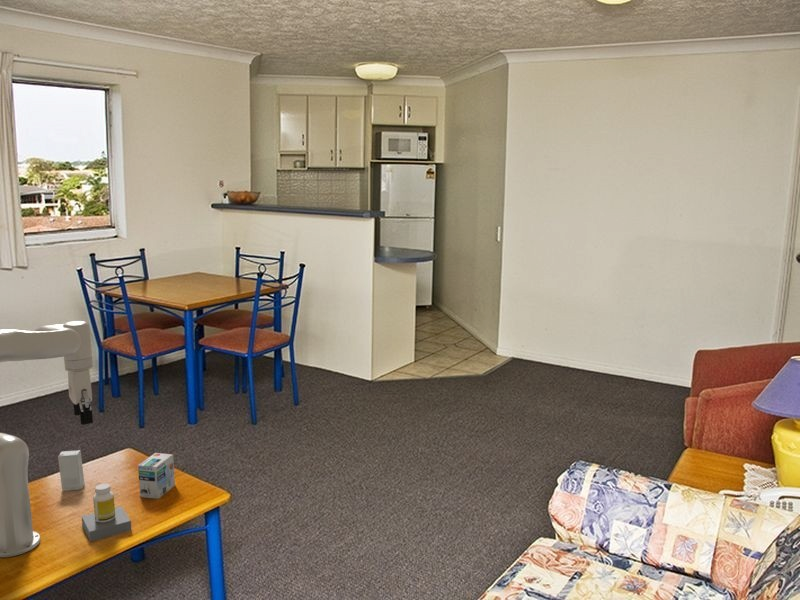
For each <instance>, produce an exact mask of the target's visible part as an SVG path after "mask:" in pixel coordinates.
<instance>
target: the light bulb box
mask: <svg viewBox="0 0 800 600" xmlns="http://www.w3.org/2000/svg"><path fill="white" fill-rule="evenodd" d="M174 465H175V462H174V454H169V453H160V452H154V453H153V454H152V455H150V456H149V457H148V458H146V459H145V460H143V461H142V462H141V463H139V464H137V473H138V483H139V485H138V486H139V496H140V498H147V499H154V500H155V499H157V500H158V499H160V498H162V497H163V496H164V495H166V493H168V492H169V491H170V490H171V489H173V488H174V487H175V486H176V481H175V478H176V477H175V466H174Z"/></svg>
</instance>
